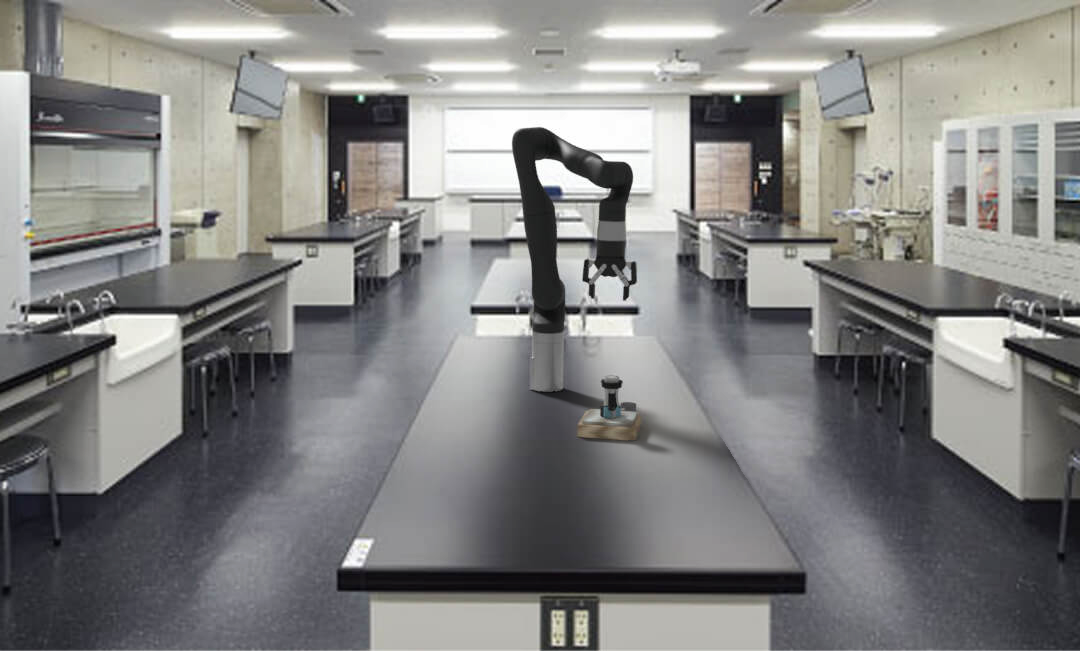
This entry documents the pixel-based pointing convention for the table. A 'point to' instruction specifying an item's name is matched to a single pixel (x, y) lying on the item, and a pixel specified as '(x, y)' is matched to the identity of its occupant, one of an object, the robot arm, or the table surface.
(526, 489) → the table surface
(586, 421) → the base block
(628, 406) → the rubber stopper
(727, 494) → the table surface
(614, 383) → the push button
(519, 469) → the table surface
